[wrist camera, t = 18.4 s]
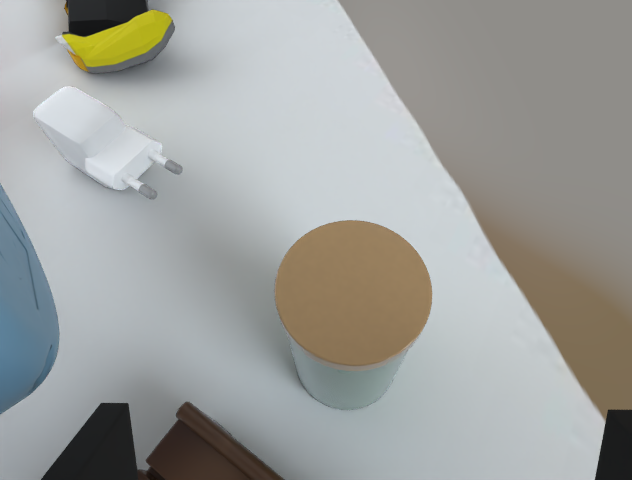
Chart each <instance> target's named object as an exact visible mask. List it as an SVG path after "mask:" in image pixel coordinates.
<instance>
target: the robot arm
mask: <svg viewBox="0 0 632 480" xmlns="http://www.w3.org/2000/svg"><path fill="white" fill-rule="evenodd" d="M58 346H59V324H58V317H57V312H56V307H55V303H54V300H53V296H52V293H51V290H50V287H49V284H48V281H47V279H46V276H45V273H44V271H43V268H42V266H41V263H40V261H39V259H38V256H37V254H36V252H35V249H34V247H33V245H32V243H31V241H30V238H29V236H28V234H27V232H26V230H25V228H24V226H23V224H22V222H21V220H20V219H19V217H18V215H17V213H16V211H15V209H14V207H13V205H12V203H11V202H10V200H9V198H8V196H7V194H6V193H5V191H4V189H3V187H2V186H1V184H0V414H2V413H3V412H5V411H6V410H8V409H9V408H11V407H12V406H14V405H15V404H17V403H18V402H20V401H21V400H23V399H24V398H26V397H27V396H29V395H30V394H31V393H32V392H33V391H34V390H35V389H36V388H37V387H38V386H39V385H40V384H41V383H42V382H43V381H44V380H45V378H46V377H47V375H48V374H49V372H50V370H51V369H52V366H53V364H54V362H55V359H56V356H57V352H58ZM41 480H138V472H137V465H136V457H135V450H134V442H133V435H132V428H131V420H130V413H129V405H128V403H101V404H100V405H99V406H98V408H97V409H96V410H95V411H94V413H93V414H92V415H91V417H90V418H89V419H88V420H87V422H86V423H85V424H84V425H83V427H82V428H81V429H80V431H79V432H78V433H77V434H76V436H75V437H74V438H73V439H72V441H71V442H70V443H69V445H68V446H67V447H66V448H65V450H64V451H63V452H62V453H61V455H60V456H59V457H58V459H57V460H56V461H55V462H54V464H53V465H52V466H51V467H50V469H49V470H48V471H47V472H46V474H45V475H44V476H43V478H42V479H41ZM595 480H632V410H608V413H607V418H606V424H605V429H604V434H603V440H602V445H601V450H600V456H599V461H598V466H597V472H596V477H595Z"/></svg>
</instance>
